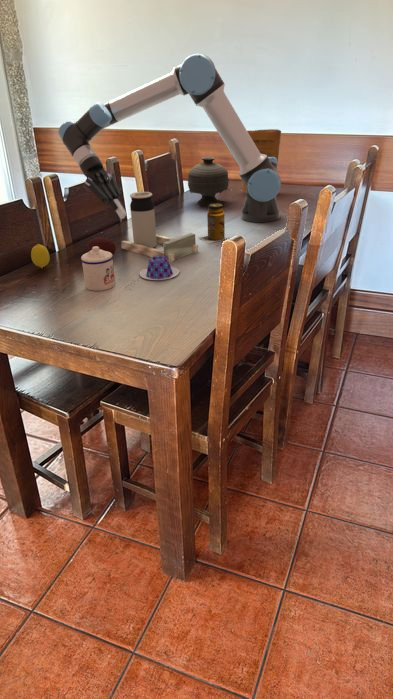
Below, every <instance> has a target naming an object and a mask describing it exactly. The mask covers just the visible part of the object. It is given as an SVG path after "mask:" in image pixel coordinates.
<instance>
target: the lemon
mask: <svg viewBox="0 0 393 699" xmlns="http://www.w3.org/2000/svg"><path fill="white" fill-rule="evenodd" d="M30 257H31V261H32V262H33V264H34V265H35V266H37V268H38V267H39V268H41V269H44V268H45V266H47V265H48V264H49V262H50V253H49V251H48V249H47V247H46V246H45V245H42V244H40V243H37V244H36V245H34V246H33V247H32V249H31V253H30ZM43 267H44V268H43Z"/></svg>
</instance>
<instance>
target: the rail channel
mask: <svg viewBox="0 0 393 699" xmlns="http://www.w3.org/2000/svg"><path fill="white" fill-rule="evenodd" d="M156 240H157V244H159V245H162V246H163V250H160V249H158V248H155V247H154V248H150V247H147V246H143V245H139V244H136V243H134V242H131V241H127V240H121V241H120V244H121V249H123V250H126V251H129V252H133V253H136V254H140V255H143V256H147V257H150V258H152V257H154V256H165V257H167V258H168V260H169V263H170V264H171V263H173V262H175V260H178V259H180V258H182V257H185V256H187V255H190V254H197V253H199V244H197V243H196V233H193V232H190V233H187V234H184V235H180V236H179V237H176V238H172V237H169V236H163V235H160V234H157V233H156Z"/></svg>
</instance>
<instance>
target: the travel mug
mask: <svg viewBox="0 0 393 699" xmlns="http://www.w3.org/2000/svg"><path fill="white" fill-rule="evenodd" d="M129 196H130V198H131V201H130V204H129V208H130V216H131V218H130V219H131V228H132V236H133V238H132V239H133V243H136V244H139V245H143V246H147V247H150V248H154V249H155V248H156V247H157V245H158V243H157V240H156V234H157V228H156V217H155V216H156V214H155V213H156V212H155V203H154V201H153V200H152V196H153V193H152V192H150V191H137V192H133V193H131V194H129Z"/></svg>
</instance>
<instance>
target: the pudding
mask: <svg viewBox="0 0 393 699" xmlns="http://www.w3.org/2000/svg"><path fill="white" fill-rule="evenodd" d="M147 262H148V263H147V267H146V268H144V269H142V270H141V271H140V272H139V276H140V277H141V278H143V279H145V280H151V281H163V280H168V279H173V278H174V277H176V276H178V275H179V273H180V270H179V269H178V268H176V267H174V266H171V263H170V262H169V260H168V258H167V257H165V256H154V257H150V258H149V260H148V261H147Z"/></svg>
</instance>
